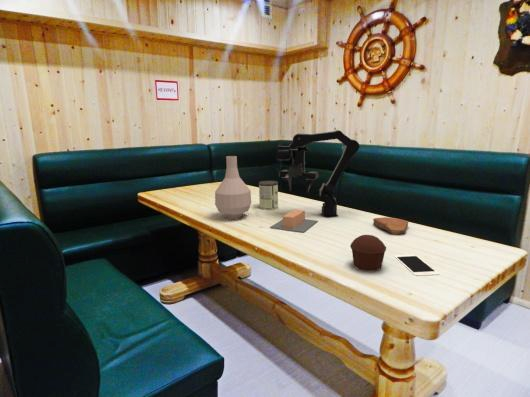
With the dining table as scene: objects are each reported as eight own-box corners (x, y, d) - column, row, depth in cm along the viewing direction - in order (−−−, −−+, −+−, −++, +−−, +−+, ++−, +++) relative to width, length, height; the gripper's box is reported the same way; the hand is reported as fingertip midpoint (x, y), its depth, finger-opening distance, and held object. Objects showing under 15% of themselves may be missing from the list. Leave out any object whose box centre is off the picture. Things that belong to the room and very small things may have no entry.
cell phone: (415, 277, 109) (415, 275, 109) (393, 257, 125) (393, 255, 125) (439, 275, 110) (440, 274, 110) (415, 256, 125) (415, 254, 125)
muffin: (391, 272, 112) (393, 242, 110) (356, 274, 111) (357, 243, 109) (376, 257, 124) (378, 230, 121) (345, 259, 123) (346, 231, 120)
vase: (209, 216, 179) (206, 156, 172) (239, 210, 189) (237, 153, 182) (227, 224, 165) (224, 159, 158) (258, 217, 175) (257, 156, 168)
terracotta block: (295, 209, 168) (282, 216, 157) (304, 210, 165) (293, 217, 154) (295, 219, 169) (282, 227, 158) (304, 220, 166) (293, 228, 155)
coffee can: (260, 205, 199) (259, 180, 196) (278, 205, 198) (278, 180, 195) (258, 210, 189) (257, 183, 186) (277, 210, 188) (277, 183, 185)
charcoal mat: (286, 217, 174) (286, 216, 174) (318, 221, 166) (318, 220, 166) (270, 228, 158) (270, 227, 158) (303, 232, 151) (303, 231, 151)
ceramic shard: (370, 221, 148) (373, 217, 162) (371, 236, 149) (374, 231, 163) (408, 219, 143) (407, 215, 157) (409, 235, 143) (409, 229, 157)
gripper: (273, 161, 169) (274, 193, 172) (310, 163, 160) (310, 196, 164) (283, 158, 178) (284, 189, 182) (319, 160, 170) (318, 192, 173)
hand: (298, 191), depth 175 cm, fingers open, 9 cm apart
